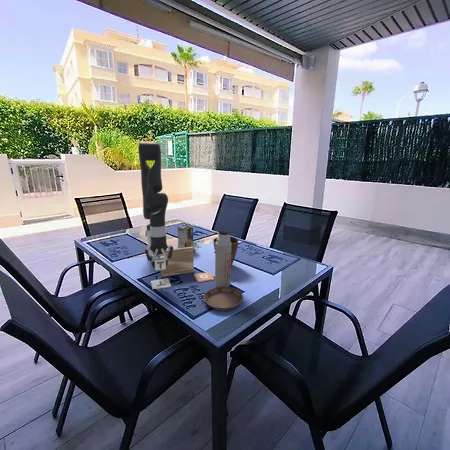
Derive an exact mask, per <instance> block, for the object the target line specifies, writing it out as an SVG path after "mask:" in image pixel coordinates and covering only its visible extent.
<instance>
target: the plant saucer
mask: <svg viewBox="0 0 450 450" xmlns="http://www.w3.org/2000/svg"><path fill="white" fill-rule="evenodd" d="M203 300H204V302H205V303H206V304H207V306H208V307H210V308H212V309H214V310H216V311H222V312H223V311H231V310H233V309H235V308H237V307H238V306H239V305H240V304H241V303H242V301H243V300H244V295H243V293H242V292H241V291H240V290H239V289H236V288H233V287H230V286H228V287H218V286H216V287H213V288H210V289H209V290H207V291H206V292H205V293H204V295H203Z"/></svg>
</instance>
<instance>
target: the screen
mask: <svg viewBox="0 0 450 450" xmlns="http://www.w3.org/2000/svg"><path fill="white" fill-rule="evenodd" d="M168 253H169V250H168V249H166V251H165V254H166V256H167V255H168ZM160 256H164V255H163V254H160ZM160 256H159V257H160ZM164 258H165V257H164ZM189 273H195V269H194V246H193V247H185V248H178V247H177V248H173V251H172V256H171V258H169V259H168V265H167V267H166V269H163V270H160V274H161V277H162V278H163V277H169V276H176V275H181V274H189Z"/></svg>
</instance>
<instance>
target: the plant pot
mask: <svg viewBox="0 0 450 450" xmlns="http://www.w3.org/2000/svg"><path fill="white" fill-rule="evenodd" d="M218 237H219V236H218ZM218 237H215V238H213V240H212V242H213V247H214V250H215V243H216V242H217V238H218ZM229 238H230V242H231V243H232V244H231V267H232V266H233V263H234V261H235V257H236V255H237V252H238V247H239V239H238V238H237V237H234V236H229Z"/></svg>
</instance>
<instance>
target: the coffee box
mask: <svg viewBox="0 0 450 450" xmlns="http://www.w3.org/2000/svg"><path fill="white" fill-rule="evenodd" d="M177 242H178V243H177V244H178V245H177V246H178V247H177V248H185V247H193V248H194V227H193V226H190V225H184V226H181V227H178V228H177Z"/></svg>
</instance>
